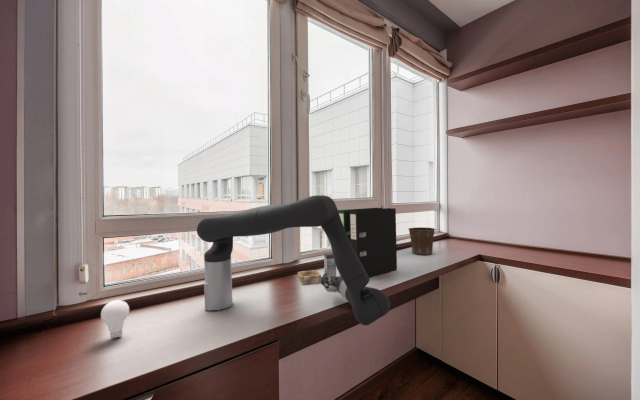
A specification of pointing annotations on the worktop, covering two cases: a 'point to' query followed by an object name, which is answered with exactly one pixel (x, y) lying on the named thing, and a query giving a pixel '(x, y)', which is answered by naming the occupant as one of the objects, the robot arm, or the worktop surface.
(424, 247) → the plant pot
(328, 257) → the grey rectangular block
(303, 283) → the holder
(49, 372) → the worktop surface
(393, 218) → the lever arch files
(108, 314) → the light bulb
